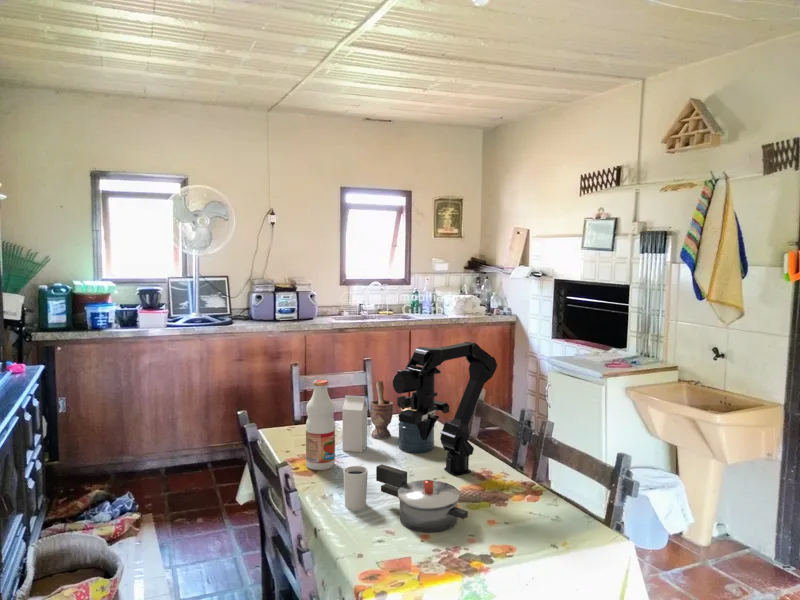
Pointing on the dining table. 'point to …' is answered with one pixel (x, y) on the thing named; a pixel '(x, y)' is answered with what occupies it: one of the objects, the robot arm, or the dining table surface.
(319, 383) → the fruit juice
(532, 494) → the dining table surface
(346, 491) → the white cup
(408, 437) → the canister
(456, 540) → the dining table surface
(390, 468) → the lid
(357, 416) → the milk carton
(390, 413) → the mortar and pestle
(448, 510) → the pot
